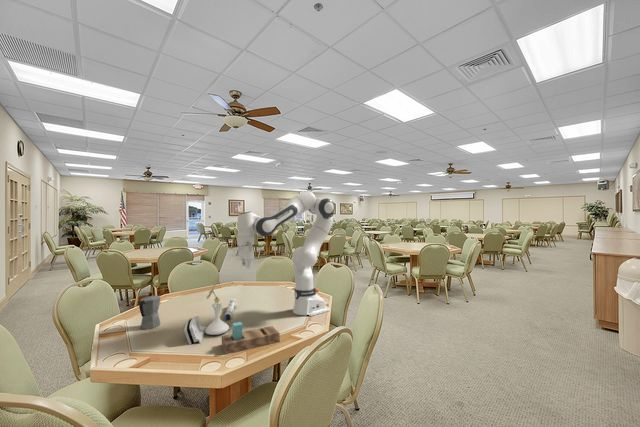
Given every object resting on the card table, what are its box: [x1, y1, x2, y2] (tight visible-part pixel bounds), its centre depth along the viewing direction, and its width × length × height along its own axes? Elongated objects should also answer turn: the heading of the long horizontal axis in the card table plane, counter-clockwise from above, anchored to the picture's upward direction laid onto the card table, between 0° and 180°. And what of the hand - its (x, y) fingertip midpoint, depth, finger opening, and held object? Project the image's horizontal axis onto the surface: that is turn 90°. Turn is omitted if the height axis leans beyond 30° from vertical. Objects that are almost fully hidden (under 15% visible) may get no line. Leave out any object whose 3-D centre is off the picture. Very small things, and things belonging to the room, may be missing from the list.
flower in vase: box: [205, 284, 230, 336], centre depth 139 cm, size 13×11×25 cm
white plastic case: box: [183, 316, 207, 345], centre depth 134 cm, size 17×5×10 cm, turn 13°
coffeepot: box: [138, 292, 161, 330], centre depth 147 cm, size 15×9×18 cm, turn 179°
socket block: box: [221, 325, 281, 355], centre depth 127 cm, size 24×10×4 cm, turn 119°
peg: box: [231, 321, 243, 341], centre depth 124 cm, size 4×4×10 cm
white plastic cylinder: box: [223, 297, 238, 321], centre depth 168 cm, size 5×7×25 cm
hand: (246, 266), depth 151 cm, fingers open, 8 cm apart
